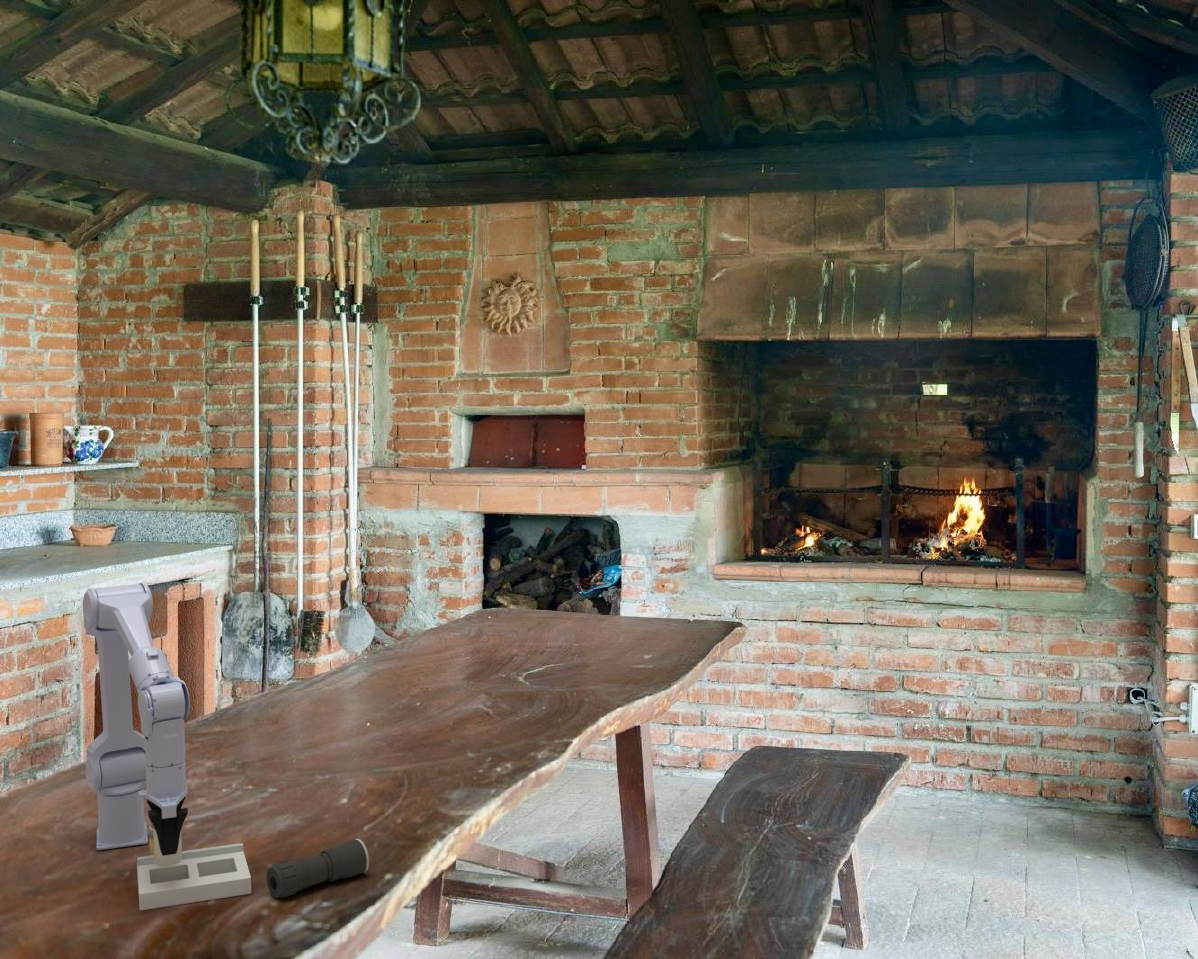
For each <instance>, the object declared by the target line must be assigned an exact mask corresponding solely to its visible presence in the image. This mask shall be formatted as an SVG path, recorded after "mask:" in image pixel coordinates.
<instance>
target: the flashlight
mask: <svg viewBox="0 0 1198 959" xmlns="http://www.w3.org/2000/svg"><path fill="white" fill-rule="evenodd" d="M369 867H370V858H369V852H368V849H367V847H366V845H365V843H364V841H362V839H360V838H354V839H350V840H348V841H344V842H340V843H338V844H336V845H335V846H333V847H330V848H326V849H323V850H322V851H321V852H320V854H315V855H311V856H308V857H305V858H304V857H303V858H299V859H296V860H290V861H289V860H283V861H281V862H277V863H274V864H273V865H272V866H270V867H269V868H268V869H267V871H266V885H267V888H268V891H269V893H270V895H271V896H272V897H273V898H274V899H279V898H280V899H284V898H287V897H291V896H294V895H296V893H297V892H301V891H302V890H306V889H309V888H310V887H312V886H315V885H318V884H320V883H321V884H322V883H325V881H327V882H330V883H332V882H335V881H338V880H340V879H349V878H352V877H355V876H358V875H362V874H365V873H366V872H367V871H368V870H369Z"/></svg>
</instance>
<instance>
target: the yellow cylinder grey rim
mask: <svg viewBox="0 0 1198 959" xmlns="http://www.w3.org/2000/svg"><path fill="white" fill-rule="evenodd" d="M147 836H148V843H149V856H151V855H154V833H153V828H152V827H151V824H149V825H148V826H147Z"/></svg>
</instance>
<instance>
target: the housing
mask: <svg viewBox="0 0 1198 959" xmlns="http://www.w3.org/2000/svg"><path fill="white" fill-rule="evenodd" d="M136 872H137V874H136V875H137V889H138V890H137V892H138V905H139V908H138V909H139V911H146V910H151V909H152V910H153V909H157V908H165V907H173V906H179V905H184V904H185V905H186V904H191V903H197V902H198V903H199V902H204V901H205V902H206V901H211V900H216V899H217V900H218V899H225V898H230V897H238V896H245V895H251V894H252V877H251V873H250V869H249V867H248V863H247V859H246V855H245V852H244V843H243V842H240V843H233V844H227V845H218V846H217V845H216V846H211V847H203V848H197V849H196V848H195V849H188V850H182V860H181V861H180V862H179V863H177V864H174V865H170V866H159V865H156V864H155V863H154V855H151V856H150V855H146V856H139V857H138V856H137V857H136Z"/></svg>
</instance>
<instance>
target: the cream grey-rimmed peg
mask: <svg viewBox="0 0 1198 959" xmlns="http://www.w3.org/2000/svg"><path fill="white" fill-rule="evenodd" d="M150 825H151V827H152V828H153V833H154V863H155V864H156V865H159V866H170V865H174V864H177V863H179V862H180V861H181V860H182V851H183V850H182V849H183V848H182V844H183V843H182V831H181V832H180V838H179V845H178V850H177V853H176V854H172V855H165V856H162V853H161V850H160V846H159V841H158V837H157V833H156V830H155V828H154V826H153V824H152V822H151V821H150Z"/></svg>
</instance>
